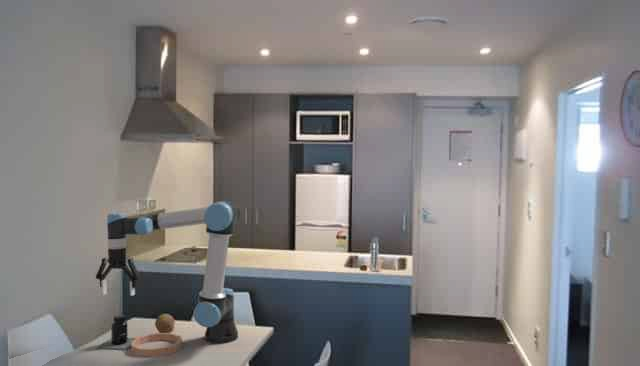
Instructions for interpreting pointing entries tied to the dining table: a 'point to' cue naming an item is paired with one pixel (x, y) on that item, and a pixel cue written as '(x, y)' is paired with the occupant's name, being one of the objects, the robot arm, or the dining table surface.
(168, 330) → the natural sponge
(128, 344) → the mat
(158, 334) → the pink polygonal hoop
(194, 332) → the dining table surface
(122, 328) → the supplement bottle
